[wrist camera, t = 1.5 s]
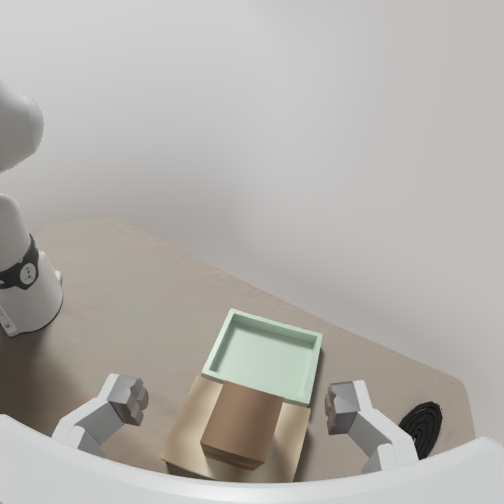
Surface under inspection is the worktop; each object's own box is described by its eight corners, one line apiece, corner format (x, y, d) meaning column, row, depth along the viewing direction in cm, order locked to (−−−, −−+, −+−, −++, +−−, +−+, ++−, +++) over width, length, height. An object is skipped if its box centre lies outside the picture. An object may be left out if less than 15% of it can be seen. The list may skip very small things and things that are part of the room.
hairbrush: (341, 523, 22) (422, 390, 36) (332, 521, 24) (411, 398, 39) (384, 542, 18) (454, 411, 33) (373, 540, 20) (442, 418, 35)
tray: (202, 380, 40) (201, 372, 38) (230, 318, 50) (230, 308, 48) (303, 410, 38) (309, 403, 36) (317, 343, 47) (322, 333, 45)
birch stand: (165, 461, 29) (158, 457, 26) (198, 388, 39) (196, 375, 36) (279, 497, 27) (287, 497, 23) (301, 418, 36) (311, 408, 33)
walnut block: (204, 456, 27) (199, 442, 21) (223, 409, 32) (225, 379, 26) (252, 471, 26) (265, 462, 20) (268, 423, 31) (284, 397, 25)
